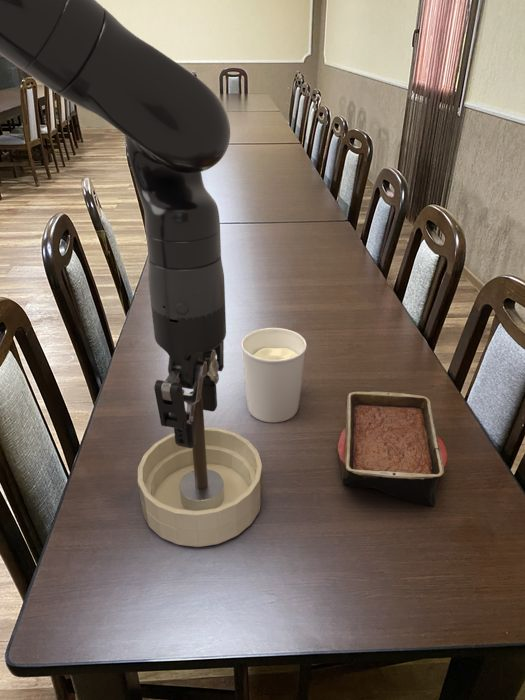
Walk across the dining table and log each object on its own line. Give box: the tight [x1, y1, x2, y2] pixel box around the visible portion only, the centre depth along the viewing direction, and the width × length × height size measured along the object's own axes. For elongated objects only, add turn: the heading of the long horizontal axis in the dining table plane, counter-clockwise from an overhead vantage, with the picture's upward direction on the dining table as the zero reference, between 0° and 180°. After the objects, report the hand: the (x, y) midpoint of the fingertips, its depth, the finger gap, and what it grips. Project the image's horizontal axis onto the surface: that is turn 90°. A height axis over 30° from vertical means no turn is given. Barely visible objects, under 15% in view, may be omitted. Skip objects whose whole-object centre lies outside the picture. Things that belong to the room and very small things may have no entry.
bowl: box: [137, 426, 263, 548], centre depth 68 cm, size 15×15×6 cm
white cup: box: [240, 327, 308, 424], centre depth 84 cm, size 10×10×12 cm
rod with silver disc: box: [179, 390, 224, 511], centre depth 65 cm, size 6×6×16 cm
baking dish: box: [336, 390, 448, 508], centre depth 73 cm, size 14×18×10 cm
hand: (197, 425), depth 63 cm, fingers open, 6 cm apart
